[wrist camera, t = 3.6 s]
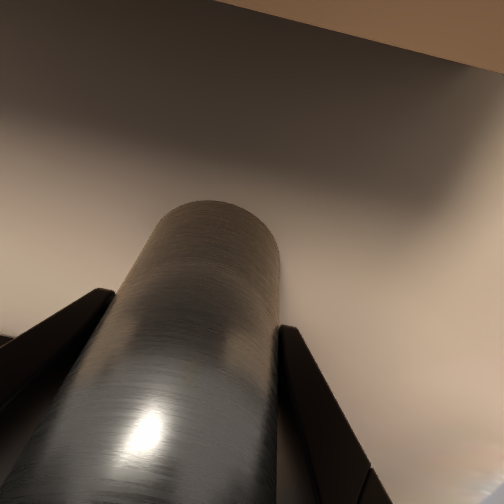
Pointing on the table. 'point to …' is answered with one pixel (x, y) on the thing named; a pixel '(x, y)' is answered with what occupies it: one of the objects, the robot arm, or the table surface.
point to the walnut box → (407, 24)
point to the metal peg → (171, 378)
